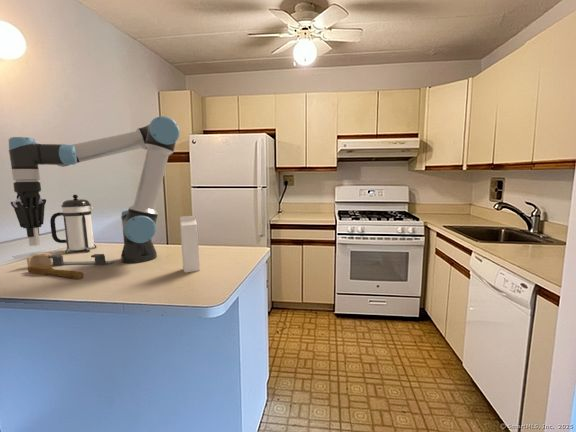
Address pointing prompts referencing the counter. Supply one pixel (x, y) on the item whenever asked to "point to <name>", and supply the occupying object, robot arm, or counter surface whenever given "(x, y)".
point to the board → (47, 258)
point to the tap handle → (54, 272)
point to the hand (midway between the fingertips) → (34, 245)
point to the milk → (189, 243)
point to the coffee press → (75, 225)
